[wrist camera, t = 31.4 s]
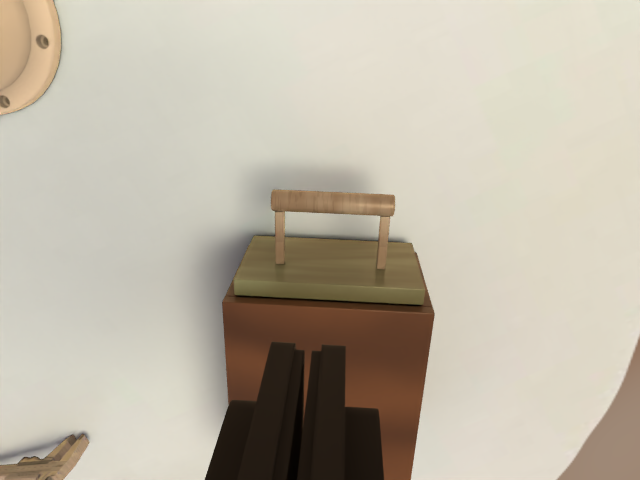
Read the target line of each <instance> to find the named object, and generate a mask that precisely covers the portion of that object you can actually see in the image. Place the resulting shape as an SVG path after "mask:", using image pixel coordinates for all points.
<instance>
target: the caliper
mask: <svg viewBox="0 0 640 480" xmlns="http://www.w3.org/2000/svg"><path fill="white" fill-rule="evenodd" d="M88 444H89V441H88V439H87V438H86V437H85V435H84V434H82V435H81V436H80V437H79V438H78V440H76V438H75V437H74V436H73V435H71V436H69V437H68V438H67V439H65V440H64V441H63V442H62V443H61V444H60V445H59V446H58V447H56V448H55V449H54V450H53V451H52V452H51V453H50V454H49V455H47V456H46V457H45V458H44V459H40V458H38V457H36V456H33V457H31V458H29V457H24V458H23V459H22V460H21V461H20V462H19V463H18V464H9V465H0V480H63V479H64V478H65V477H66V476H67V475H68V473H69V472H70V471H71V470H72V469H73V467H74V466H75V465H76V464H77V462H78V460H79V459H80V457H81V456H82V454H83V453H84V451H85V449H86V448H87V446H88Z"/></svg>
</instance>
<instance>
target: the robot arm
mask: <svg viewBox="0 0 640 480" xmlns="http://www.w3.org/2000/svg"><path fill="white" fill-rule="evenodd" d="M47 39H48V42H49V44H48V43H47ZM60 52H61V30H60V25H59V20H58V15H57V11H56V8H55V5H54V2H53V0H0V115H1V114H7V113H11V112H14V111H18V110H21V109H23V108H25V107H26V106H28V105H30V104H32V103H34V102H35V101H36V100H37V99H38V98H39V97H40V96H41V95H43V94H44V93H45V91H46V90H47V88H48V87H49V85H50V84H51V82H52V81H53V78H54V76H55V73H56V70H57V68H58V65H59V59H60ZM345 366H346V346H341V345H323V344H322V348H321V351H313V350H312V354H311V363H310V372H309V380H308V389H307V398H306V406H305V415H304V369H305V350H296V343H287V342H271V345H270V349H269V353H268V357H267V361H266V365H265V369H264V373H263V377H262V381H261V385H260V389H259V393H258V397H257V401H247V400H231V401H230V403H229V406H228V409H227V412H226V415H225V418H224V421H223V424H222V427H221V431H220V434H219V437H218V440H217V443H216V446H215V449H214V453H213V456H212V459H211V462H210V465H209V468H208V471H207V475H206V478H205V480H384V470H383V457H382V444H381V431H380V418H379V410H378V409H377V408H361V407H345ZM303 423H304V424H303Z"/></svg>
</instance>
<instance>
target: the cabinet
mask: <svg viewBox="0 0 640 480" xmlns="http://www.w3.org/2000/svg"><path fill="white" fill-rule="evenodd" d="M249 245H250V244H249ZM249 245H248V247H249ZM247 249H248V248H247ZM246 252H247V250H246ZM246 252H245V254H246ZM245 254H244V256H245ZM244 256H243V258H244ZM415 256H416V259H417V263H418V266H419V270H420V273H421V277H422V280H423V284H424V287H425V295H424V303H423V305H412V304H407V306H399V305H380V304H361V303H342V302H323V301H305V300H286V299H267V298H251V297H252V296H242V295H235V294H234V278H235V276H236V274H237V272H236V274H235V276H234V278H233V280H232V283H231V285H230V287H229V289H228V291H227V293H226V296H225V298H224V300H223V302H222V307H223V323H224V339H225V355H226V371H227V387H228V403H230V401H231V400H247V401H257V397H258V393H259V389H260V385H261V381H262V377H263V373H264V369H265V365H266V361H267V357H268V353H269V349H270V345H271V342H287V343H296V350H305V369H304V415H305V406H306V398H307V389H308V380H309V372H310V363H311V354H312V350H313V351H321V348H322V344H323V345H341V346H346V366H345V407H361V408H377V409H378V410H379V418H380V431H381V444H382V457H383V470H384V480H411V473H412V466H413V460H414V453H415V446H416V439H417V432H418V425H419V418H420V411H421V404H422V397H423V390H424V384H425V377H426V370H427V363H428V356H429V349H430V342H431V335H432V328H433V321H434V310H433V307H432V304H431V300H430V297H429V293H428V290H427V287H426V283H425V280H424V276H423V273H422V270H421V266H420V263H419V259H418V256H417V253H415ZM242 260H243V259H242ZM241 263H242V261H241ZM241 263H240V265H241ZM240 265H239V267H240ZM239 267H238V269H239ZM238 269H237V271H238ZM303 424H304V423H303Z"/></svg>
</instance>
